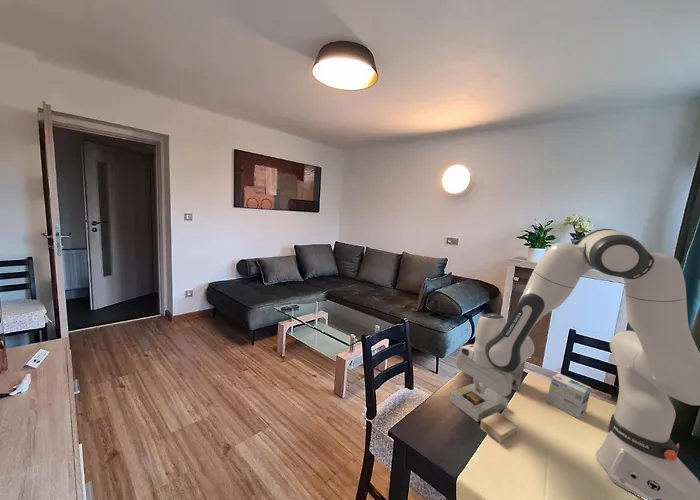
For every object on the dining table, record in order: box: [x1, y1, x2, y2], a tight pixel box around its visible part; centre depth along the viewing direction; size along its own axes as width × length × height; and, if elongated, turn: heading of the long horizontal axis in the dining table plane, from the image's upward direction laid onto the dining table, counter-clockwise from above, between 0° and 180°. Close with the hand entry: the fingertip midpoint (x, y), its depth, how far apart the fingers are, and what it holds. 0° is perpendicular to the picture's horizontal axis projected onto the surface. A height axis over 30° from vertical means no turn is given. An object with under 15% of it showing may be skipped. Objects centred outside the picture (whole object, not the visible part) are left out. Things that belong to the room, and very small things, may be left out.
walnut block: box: [466, 392, 483, 406], centre depth 105 cm, size 4×4×4 cm
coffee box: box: [511, 361, 526, 392], centre depth 121 cm, size 9×6×16 cm
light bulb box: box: [546, 372, 592, 420], centre depth 108 cm, size 11×7×11 cm, turn 35°
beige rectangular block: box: [479, 412, 519, 445], centre depth 94 cm, size 7×9×3 cm
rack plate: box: [448, 382, 509, 423], centre depth 107 cm, size 12×17×4 cm
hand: (479, 391), depth 106 cm, fingers closed
